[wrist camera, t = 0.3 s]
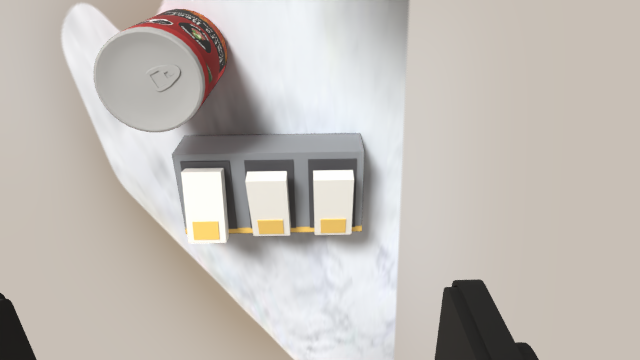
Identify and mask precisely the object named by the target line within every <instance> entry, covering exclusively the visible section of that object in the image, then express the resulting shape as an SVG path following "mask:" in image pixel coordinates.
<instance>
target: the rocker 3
mask: <svg viewBox="0 0 640 360" xmlns="http://www.w3.org/2000/svg"><path fill="white" fill-rule="evenodd" d="M313 190H314V228H315V235H349V234H351V230H352V210H353V190H354V175H353V170H319V171H313Z"/></svg>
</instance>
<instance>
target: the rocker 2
mask: <svg viewBox="0 0 640 360" xmlns="http://www.w3.org/2000/svg"><path fill="white" fill-rule="evenodd" d="M245 183H246V190H247V196H248V203H249V209H250V216H251V222H252V229H253V235H254V236H289V235H290V231H291V221H290V208H289V194H288V181H287V171H257V172H247V175H246V180H245Z"/></svg>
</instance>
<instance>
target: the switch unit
mask: <svg viewBox="0 0 640 360" xmlns="http://www.w3.org/2000/svg"><path fill="white" fill-rule="evenodd" d="M172 158H173V164H174V169H175V174H176V180H177V185H178V191H179V196H180V202H181V207H182V212H183V218H184V223H185V231H186V234H187V225H186V215H185V206H184V196H183V186H182V177H181V172H182V171H183V170H184V169H185V168H224V177H225V190H226V203H227V217H228V230H229V234H233V233H253V229H252V222H251V216H250V209H249V203H248V196H247V190H246V183H245V180H246V175H247V172H257V171H287V181H288V194H289V208H290V221H291V231H290V233H293V232H315V228H314V190H313V171H319V170H353V175H354V190H353V210H352V230H351V232H353V231H362V202H363V175H364V148H363V144H362V140H361V135H360V133H335V134H272V135H209V136H184V137H183V139H182V140H181V142H180V143H179V145H178V146H177V148H176V149H175V151H174V152H173V154H172Z"/></svg>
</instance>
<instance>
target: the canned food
mask: <svg viewBox="0 0 640 360" xmlns="http://www.w3.org/2000/svg"><path fill="white" fill-rule="evenodd" d="M226 62H227V49H226V45H225V41H224V39H223V37H222V34H221V33H220V31H219V30H218V28H217V27H216V26H215V25H214V24H213V23H212V22H211V21H210V20H209V19H207V18H206V17H204V16H203V15H201V14H199V13H197V12H194V11H190V10H186V9H174V10H169V11H166V12H163V13H161V14H159V15H157V16H154V17H152V18H150V19H148V20H145V21H143V22H141V23H139V24H136V25H134V26H132V27H130V28H128V29H125V30H123V31H121V32H119V33H118V34H116V35H115V36H113V37H112V38H111V39H109V40H108V41H107V42H106V43H105V45H104V46H103V47H102V48H101V50H100V51H99V53H98V55H97V57H96V61H95V65H94V83H95V88H96V91H97V93H98V96H99V98H100V100H101V101H102V103H103V104H104V106H105V107H106V109H107V110H108V111H109V112H110V113H111V114H112V115H113V116H114V117H115V118H117V119H118V120H119V121H120V122H122V123H124V124H126V125H128V126H129V127H132V128H135V129H137V130H141V131H146V132H164V131H170V130H172V129H175V128H178V127H179V126H181V125H183V124H184V123H186V122H187V121H188V120H189V119H190V118H191V117H193V116H194V115H195V114H196V112H197V111H198V110H199V108H200V107H201V105H202V104H203V102H204V101H205V99H206V98H207V96H208V95H209V93H210V92H211V91H212V89H213V88H214V86H215V85H216V83H217V82H218V80H219V79H220V77H221V76H222V74H223V72H224V69H225V67H226Z"/></svg>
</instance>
